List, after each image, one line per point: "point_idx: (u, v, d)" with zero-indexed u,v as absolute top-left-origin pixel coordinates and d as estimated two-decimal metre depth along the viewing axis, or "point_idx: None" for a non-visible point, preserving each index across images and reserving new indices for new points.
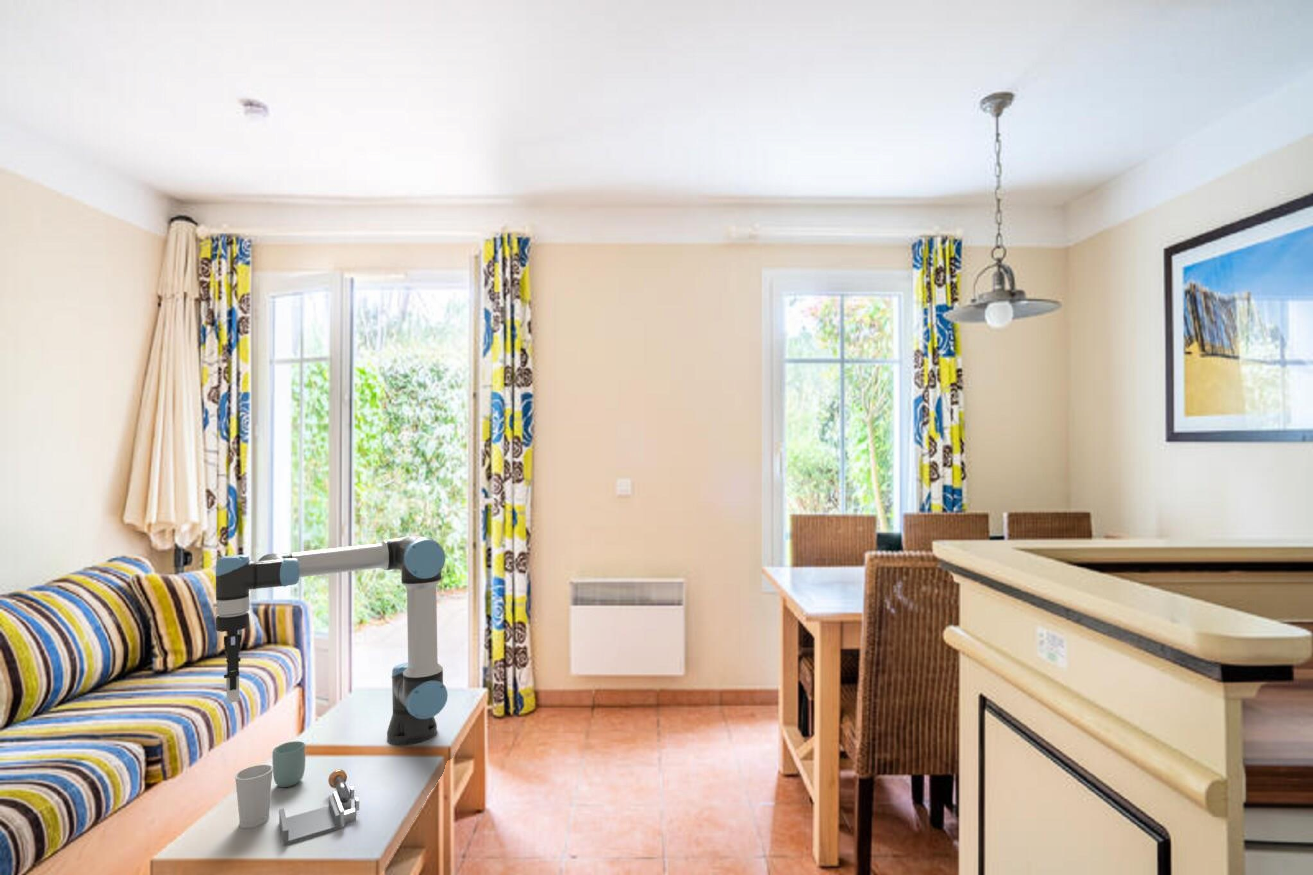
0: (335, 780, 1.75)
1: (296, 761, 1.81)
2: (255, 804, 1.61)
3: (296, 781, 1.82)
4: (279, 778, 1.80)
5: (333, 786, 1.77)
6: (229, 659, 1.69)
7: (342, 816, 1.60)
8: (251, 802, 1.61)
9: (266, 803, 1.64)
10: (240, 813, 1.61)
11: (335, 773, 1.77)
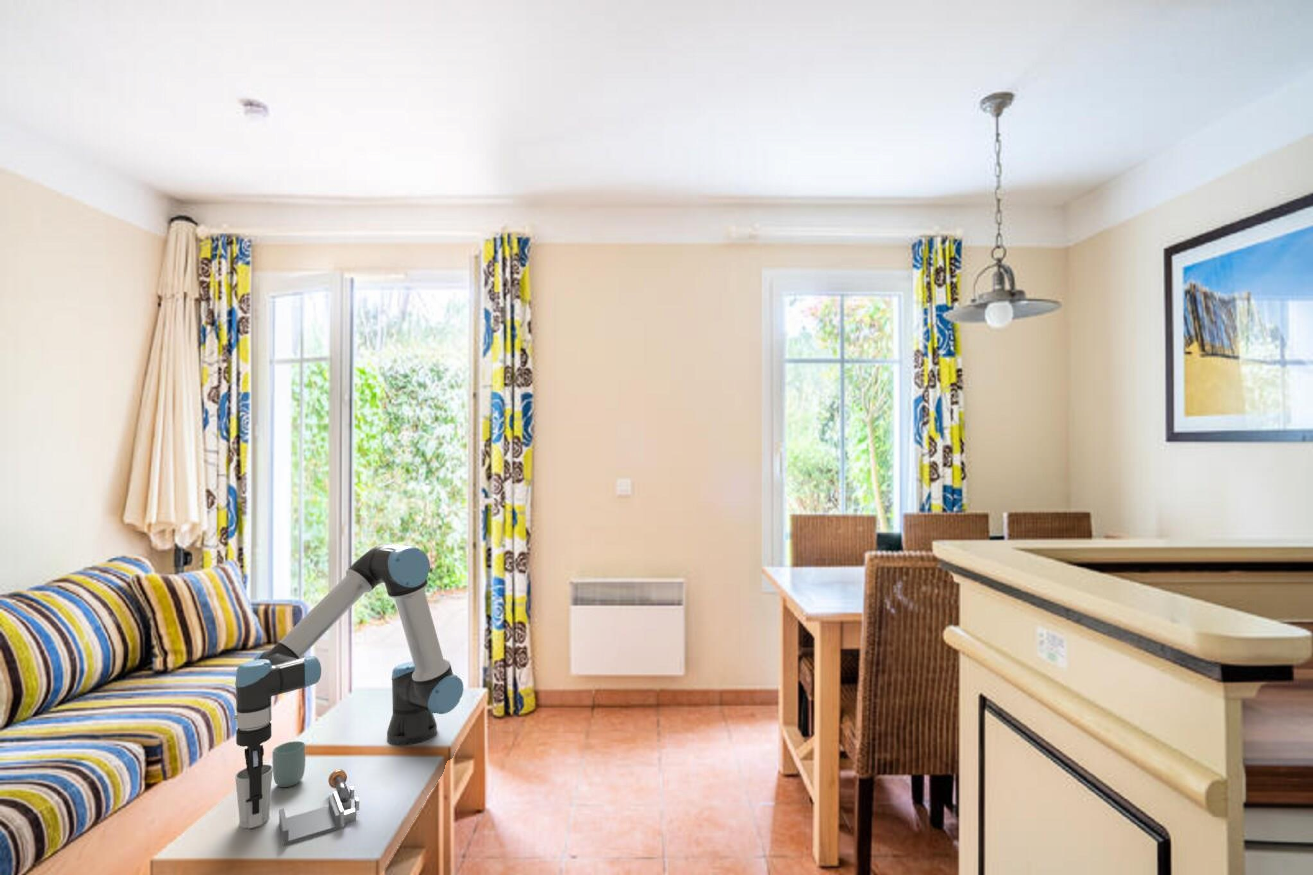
0: (335, 780, 1.75)
1: (296, 761, 1.81)
2: None
3: (296, 781, 1.82)
4: (279, 778, 1.80)
5: (333, 786, 1.77)
6: (251, 783, 1.58)
7: (342, 816, 1.60)
8: None
9: (266, 803, 1.64)
10: (240, 813, 1.61)
11: (335, 773, 1.77)
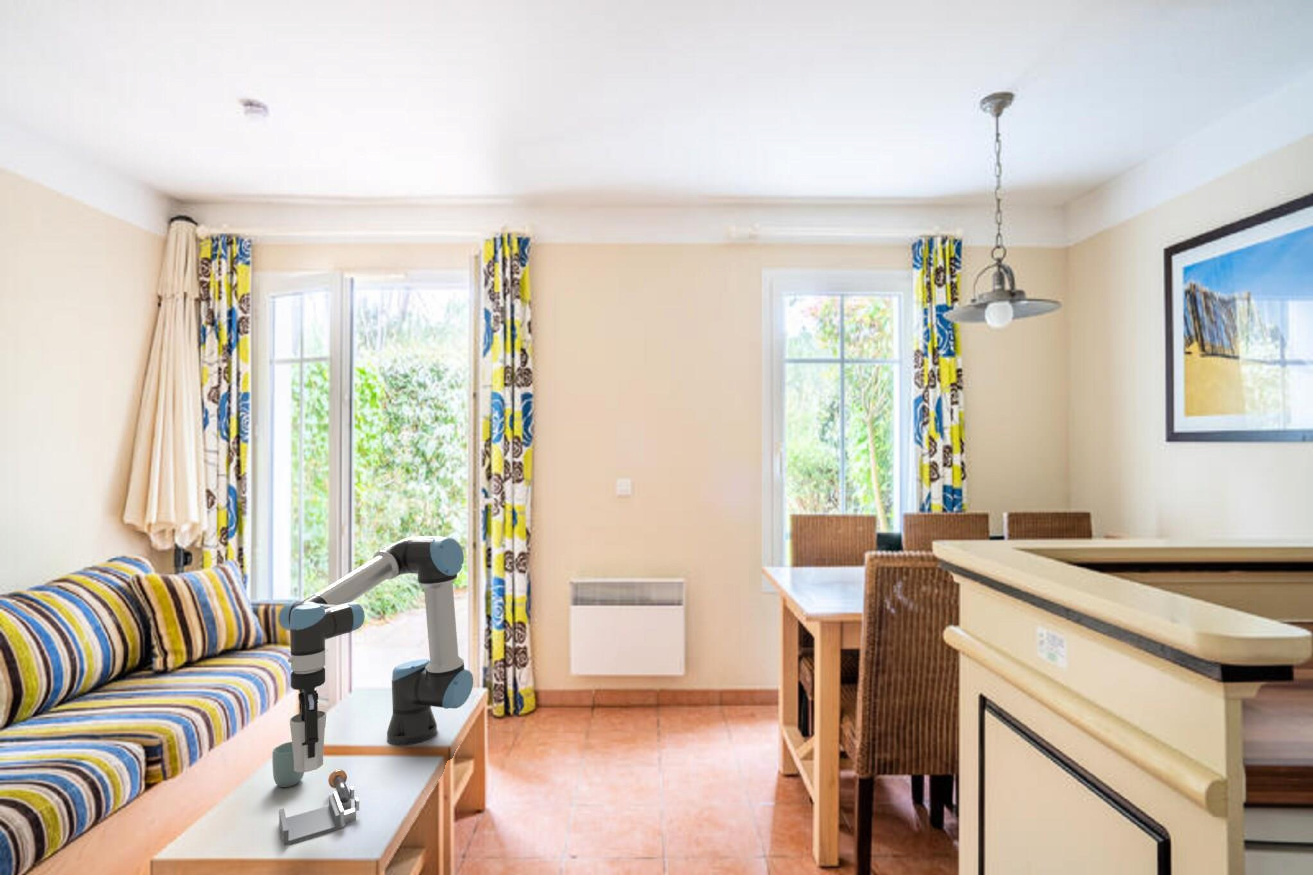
0: (335, 780, 1.75)
1: None
2: None
3: (296, 781, 1.82)
4: (279, 778, 1.80)
5: (333, 786, 1.77)
6: (308, 726, 1.56)
7: (342, 816, 1.60)
8: None
9: (320, 748, 1.61)
10: (295, 757, 1.59)
11: (335, 773, 1.77)
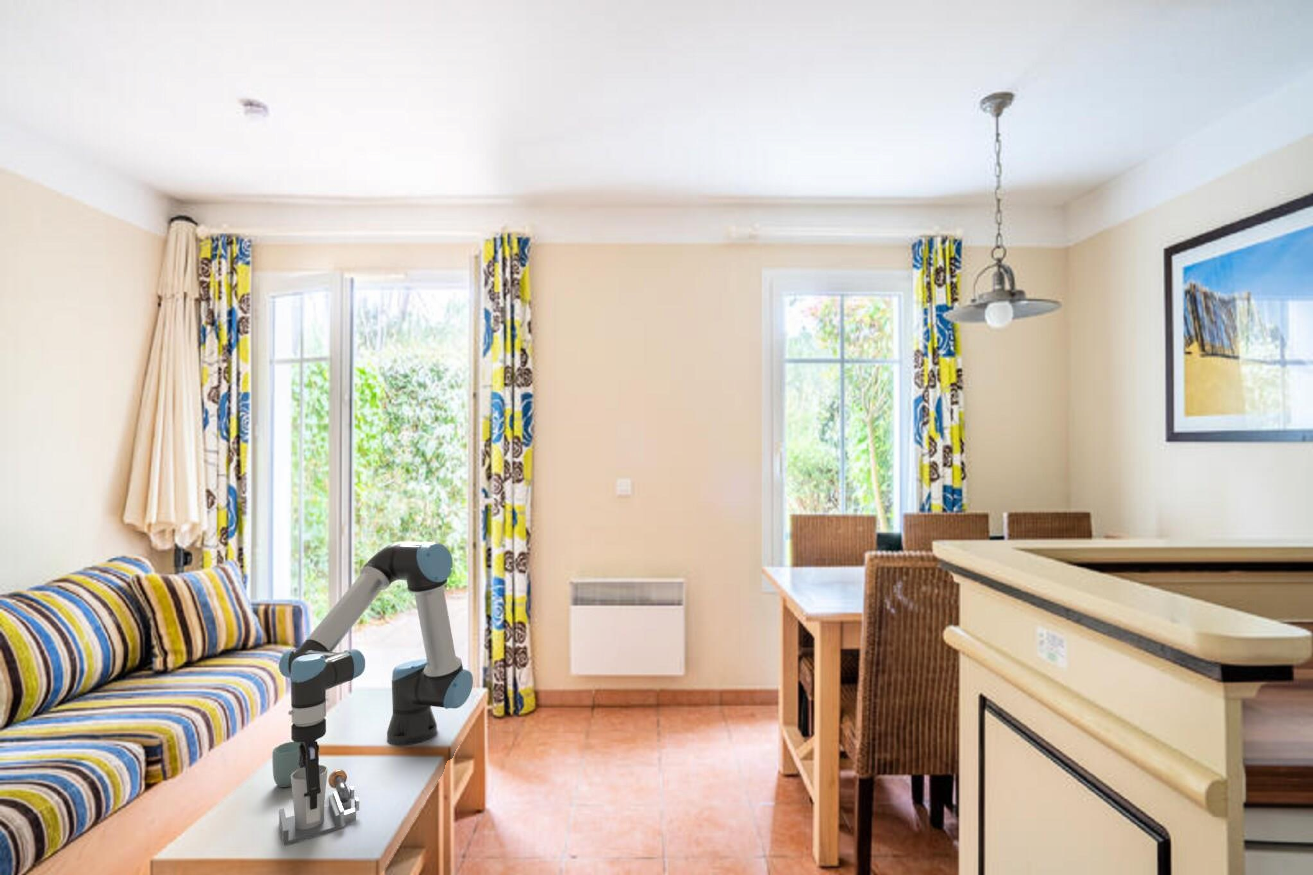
0: (335, 780, 1.75)
1: (296, 761, 1.81)
2: None
3: None
4: (279, 778, 1.80)
5: (333, 786, 1.77)
6: (309, 776, 1.54)
7: (342, 816, 1.60)
8: None
9: (322, 804, 1.61)
10: (296, 814, 1.59)
11: (335, 773, 1.77)
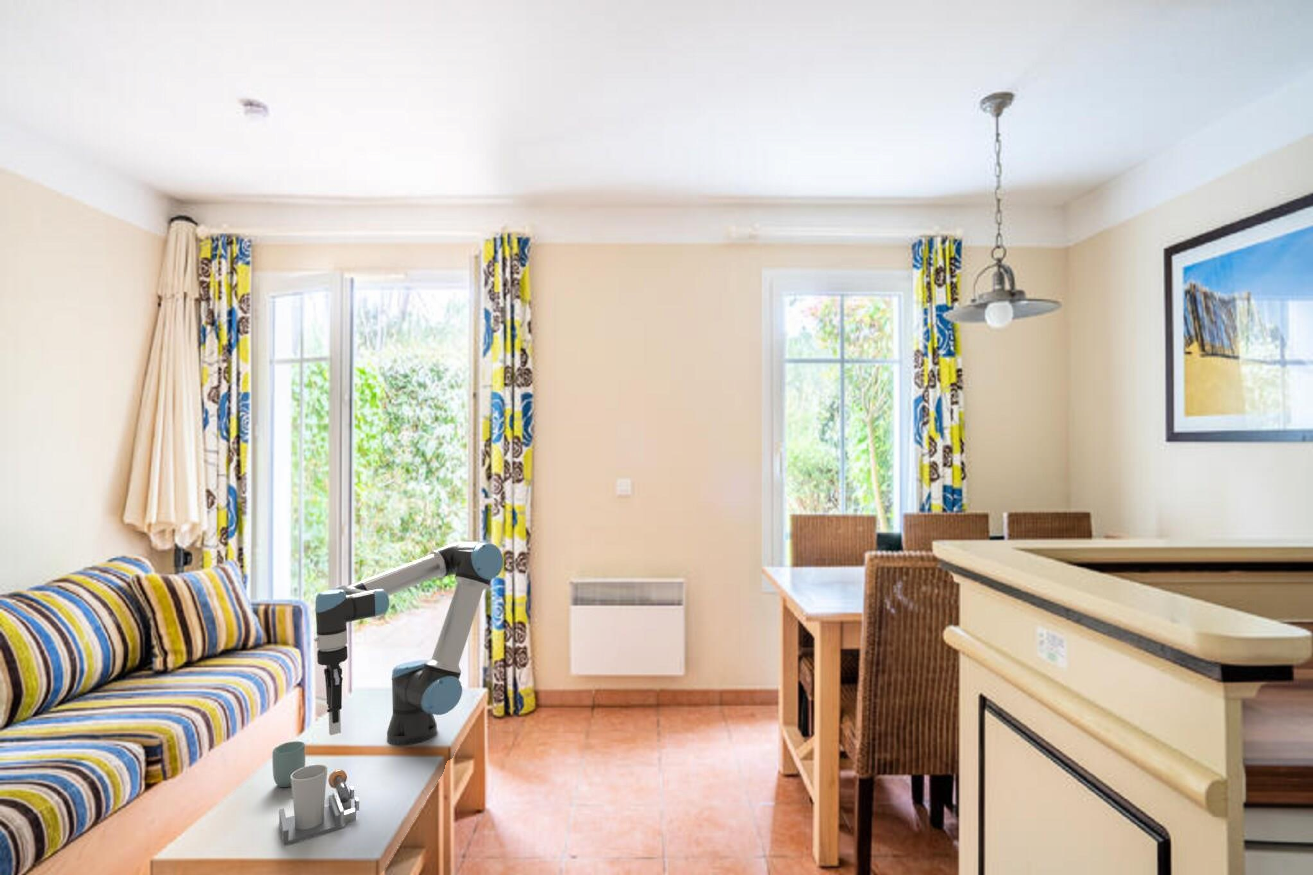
0: (335, 780, 1.75)
1: (296, 761, 1.81)
2: (311, 805, 1.59)
3: None
4: (279, 778, 1.80)
5: (333, 786, 1.77)
6: (333, 697, 1.79)
7: (342, 816, 1.60)
8: (307, 803, 1.58)
9: (321, 804, 1.61)
10: (296, 814, 1.59)
11: (335, 773, 1.77)
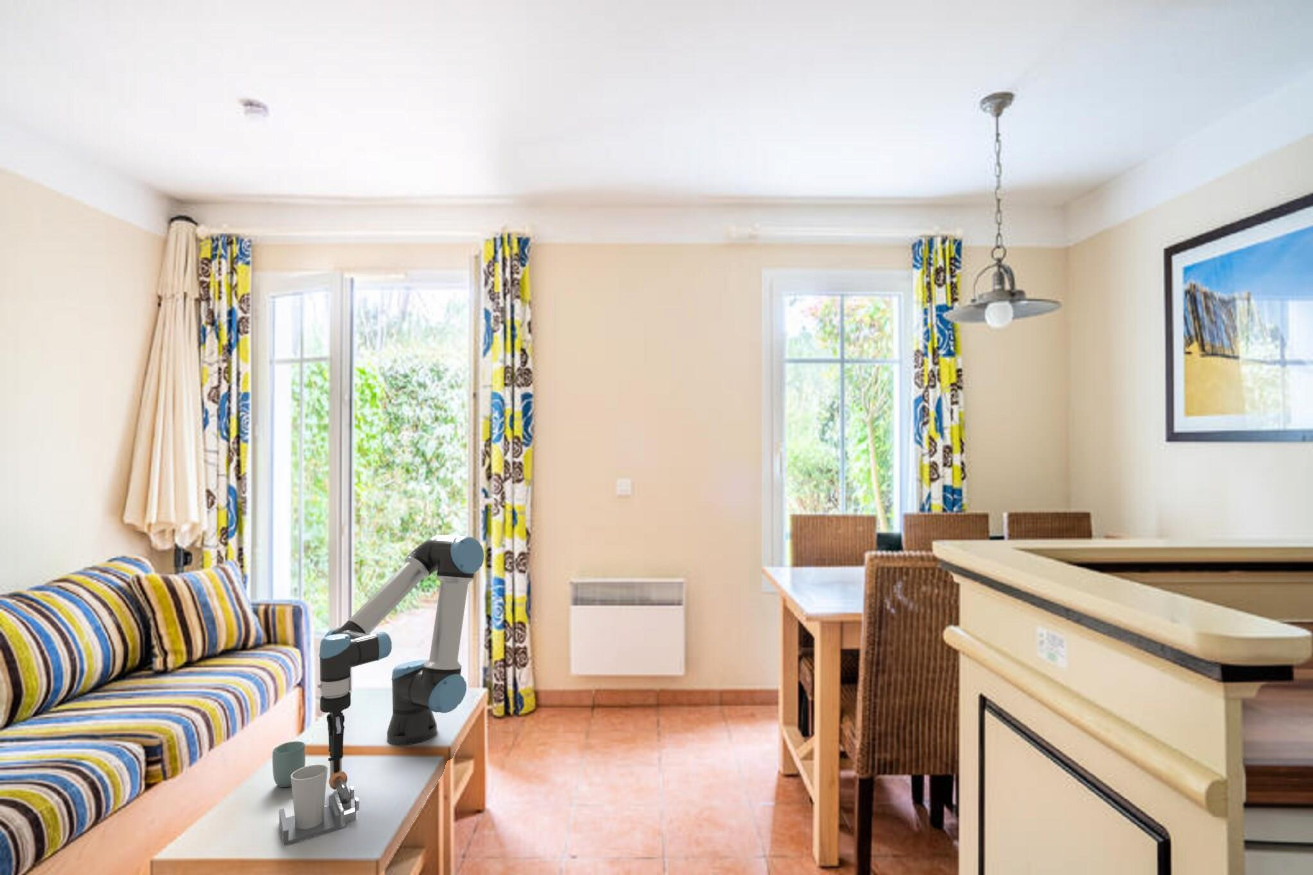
0: (336, 781, 1.75)
1: (296, 761, 1.81)
2: (311, 805, 1.59)
3: None
4: (279, 778, 1.80)
5: (333, 787, 1.76)
6: (334, 746, 1.75)
7: (342, 816, 1.60)
8: (307, 803, 1.58)
9: (322, 804, 1.61)
10: (296, 814, 1.59)
11: (336, 774, 1.76)
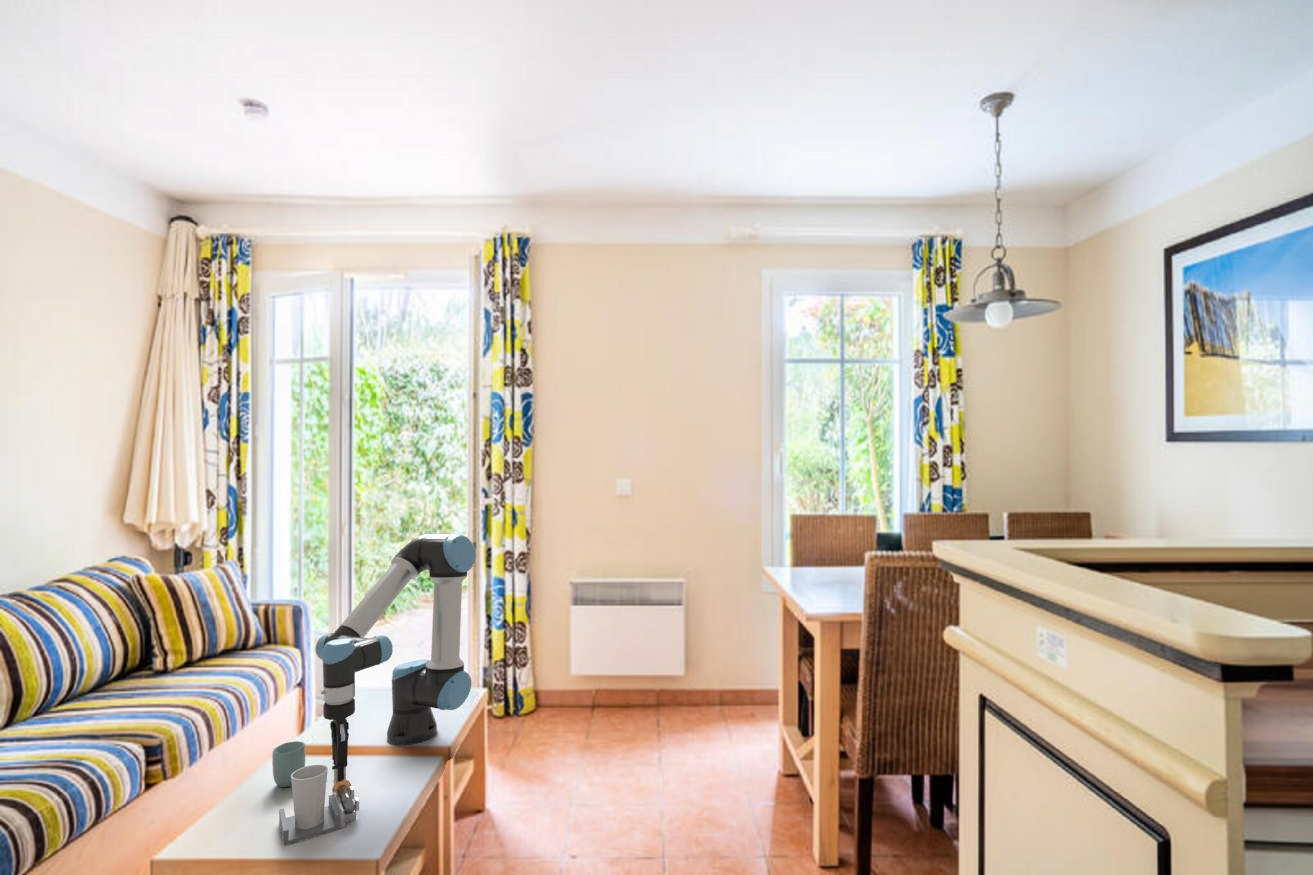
0: (339, 790, 1.70)
1: (296, 761, 1.81)
2: (311, 805, 1.59)
3: None
4: (279, 778, 1.80)
5: None
6: (339, 754, 1.70)
7: (342, 816, 1.60)
8: (307, 803, 1.58)
9: (322, 804, 1.61)
10: (296, 814, 1.59)
11: (339, 783, 1.71)
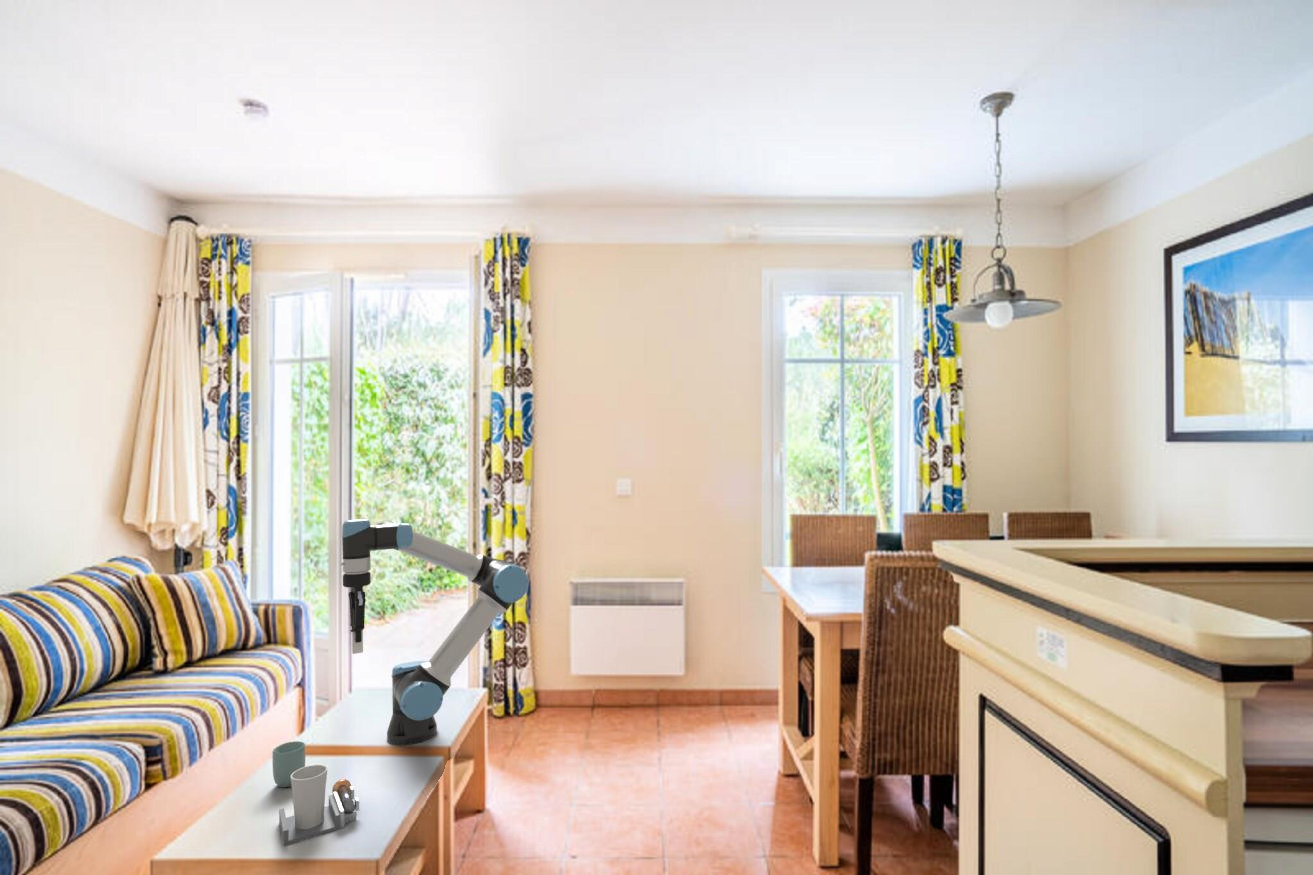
0: (339, 790, 1.70)
1: (296, 761, 1.81)
2: (311, 805, 1.59)
3: None
4: (279, 777, 1.80)
5: None
6: (357, 617, 1.91)
7: (342, 816, 1.60)
8: (307, 803, 1.58)
9: (321, 804, 1.61)
10: (296, 814, 1.59)
11: (339, 783, 1.71)
